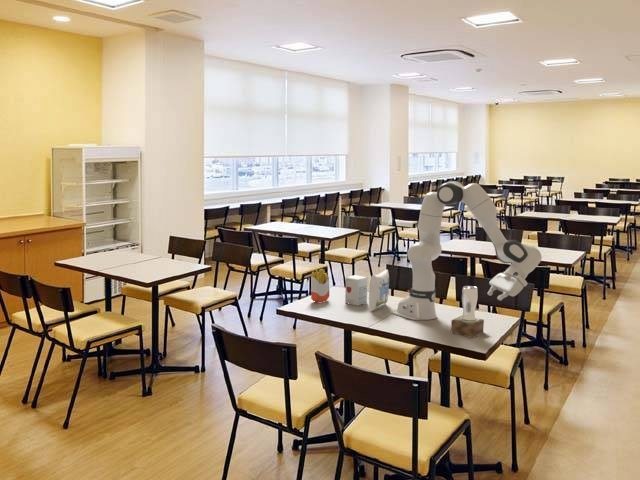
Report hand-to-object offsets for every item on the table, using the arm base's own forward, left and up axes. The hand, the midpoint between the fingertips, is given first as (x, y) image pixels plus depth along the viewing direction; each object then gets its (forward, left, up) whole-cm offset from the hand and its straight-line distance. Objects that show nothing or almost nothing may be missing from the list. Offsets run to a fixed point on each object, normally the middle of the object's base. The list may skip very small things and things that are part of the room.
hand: (493, 297), depth 269 cm
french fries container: (-96, -10, -17) cm, 98 cm away
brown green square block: (-8, -10, -16) cm, 21 cm away
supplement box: (-78, 0, -17) cm, 80 cm away
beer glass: (-8, -9, -10) cm, 16 cm away
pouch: (-63, 0, -17) cm, 66 cm away
